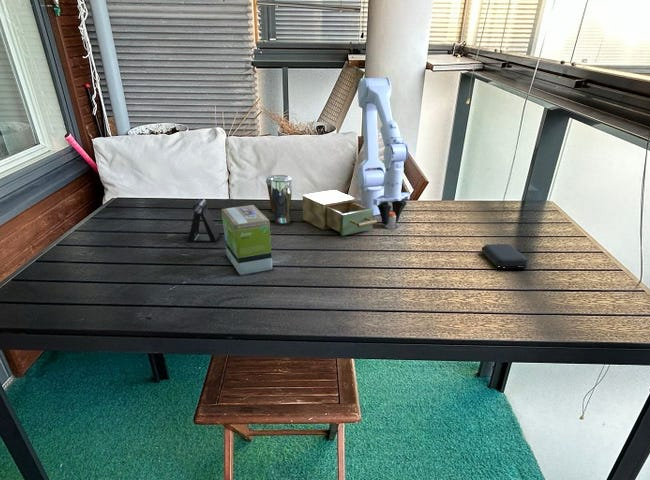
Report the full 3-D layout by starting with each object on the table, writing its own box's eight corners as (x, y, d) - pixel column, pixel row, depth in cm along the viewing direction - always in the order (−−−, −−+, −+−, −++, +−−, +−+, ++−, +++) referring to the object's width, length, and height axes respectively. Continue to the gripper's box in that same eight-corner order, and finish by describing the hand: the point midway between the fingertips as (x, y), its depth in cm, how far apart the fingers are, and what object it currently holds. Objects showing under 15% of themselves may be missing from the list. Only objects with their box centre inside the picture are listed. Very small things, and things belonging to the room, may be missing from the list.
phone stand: (188, 241, 157) (182, 203, 150) (193, 235, 162) (187, 198, 155) (216, 241, 156) (211, 204, 150) (219, 235, 161) (215, 198, 155)
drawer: (382, 233, 161) (383, 213, 157) (352, 240, 155) (352, 219, 151) (350, 219, 173) (351, 200, 169) (321, 225, 168) (321, 205, 164)
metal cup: (264, 213, 182) (262, 180, 175) (270, 206, 190) (269, 174, 183) (289, 214, 180) (288, 181, 174) (294, 207, 188) (293, 175, 182)
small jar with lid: (390, 224, 172) (391, 210, 169) (398, 227, 169) (399, 213, 166) (381, 226, 170) (382, 211, 167) (388, 229, 167) (389, 215, 164)
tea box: (225, 257, 146) (220, 207, 137) (257, 252, 149) (254, 203, 141) (239, 276, 134) (234, 223, 126) (273, 270, 137) (270, 218, 129)
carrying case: (533, 270, 138) (511, 251, 150) (536, 260, 136) (514, 241, 149) (497, 271, 137) (478, 252, 150) (499, 261, 136) (480, 242, 148)
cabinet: (355, 223, 173) (356, 198, 168) (323, 229, 166) (323, 204, 162) (333, 213, 182) (334, 189, 177) (302, 219, 176) (302, 195, 171)
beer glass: (270, 220, 175) (267, 177, 166) (288, 218, 177) (286, 175, 169) (277, 226, 169) (275, 181, 161) (295, 223, 172) (294, 179, 164)
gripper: (383, 188, 155) (380, 229, 162) (417, 182, 162) (413, 222, 169) (370, 183, 160) (367, 224, 167) (403, 177, 166) (399, 217, 174)
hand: (389, 222), depth 169 cm, fingers closed on small jar with lid, 4 cm apart
